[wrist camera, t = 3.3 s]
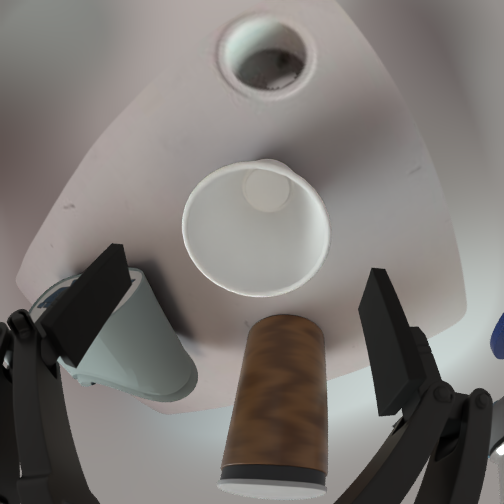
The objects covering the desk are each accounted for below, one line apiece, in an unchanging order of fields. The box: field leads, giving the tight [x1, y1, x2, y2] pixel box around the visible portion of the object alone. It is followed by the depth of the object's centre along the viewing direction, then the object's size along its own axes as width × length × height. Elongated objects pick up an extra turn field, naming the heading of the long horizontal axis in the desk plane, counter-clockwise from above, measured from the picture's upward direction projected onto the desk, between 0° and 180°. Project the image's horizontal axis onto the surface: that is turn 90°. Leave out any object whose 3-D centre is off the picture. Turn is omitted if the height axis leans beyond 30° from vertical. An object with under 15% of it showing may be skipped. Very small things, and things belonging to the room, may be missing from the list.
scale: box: [217, 464, 327, 500], centre depth 20 cm, size 11×11×2 cm
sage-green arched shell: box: [28, 267, 198, 402], centre depth 35 cm, size 22×19×13 cm
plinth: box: [221, 315, 328, 477], centre depth 30 cm, size 11×11×20 cm
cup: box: [182, 159, 331, 297], centre depth 23 cm, size 10×10×11 cm
